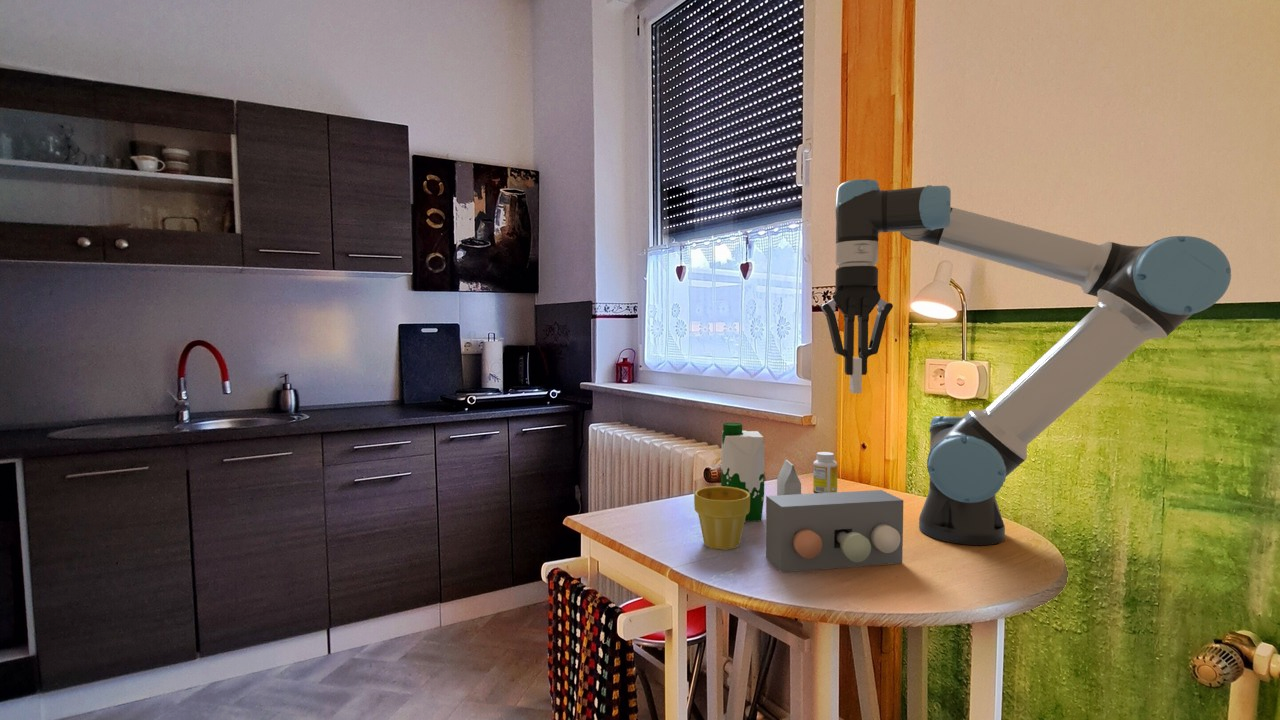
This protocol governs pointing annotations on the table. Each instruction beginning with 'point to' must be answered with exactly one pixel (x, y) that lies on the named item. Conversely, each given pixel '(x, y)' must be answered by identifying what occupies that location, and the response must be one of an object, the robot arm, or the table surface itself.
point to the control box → (829, 527)
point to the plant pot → (722, 515)
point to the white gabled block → (788, 480)
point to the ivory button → (885, 538)
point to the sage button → (853, 545)
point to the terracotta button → (807, 543)
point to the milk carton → (744, 465)
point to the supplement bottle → (824, 473)
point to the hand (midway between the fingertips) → (855, 392)
